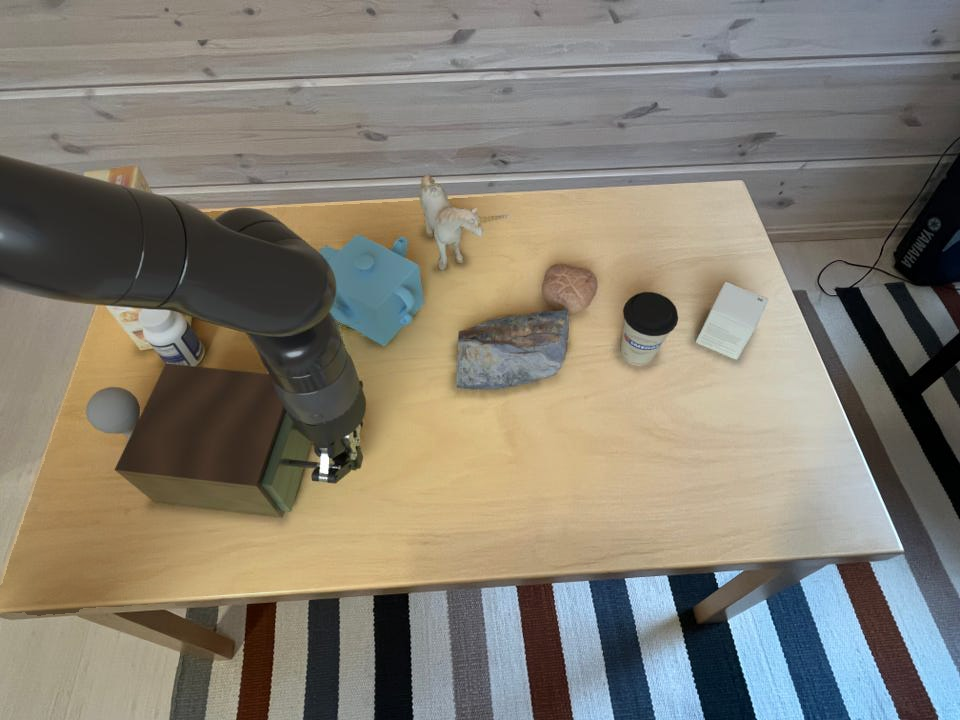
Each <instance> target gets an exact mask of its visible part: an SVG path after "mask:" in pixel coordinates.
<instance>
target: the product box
mask: <svg viewBox="0 0 960 720" xmlns="http://www.w3.org/2000/svg"><path fill="white" fill-rule="evenodd" d="M768 302H769V298H768V297H766V296H763V295H761V294H757V293H755V292H753V291H750V290H748V289H745V288H743V287H741V286H738V285H735V284H732V283H730V282H727V281H725V282H724V283H723V285H722V287H721V289H720V291H719V292H718V294H717V296H716V298H715V300H714V302H713V304H712V306H711V308H710V311H709V313H708V315H707V317H706V319H705V321H704V324H703V325H702V328H701V329H700V332H699V334H698V336H697V338H696V340H695V342H696V344H697V345H700V346H702V347H705V348H707V349H710V350H712V351H714V352H717V353H719V354H721V355H724V356H725V357H728V358H731V359H732V360H735V361H737V360H738V359H739V357H740V355H741V353H743V350H744V348H745V347H746V345H747V344H748V342H749V340H750V339H751V337H752V335H753V334H754V332H755V330H756V328H757V326H758V324H759V321H760V319H761V317H762V315H763V313H764V311H765V308H766V306H767V304H768Z"/></svg>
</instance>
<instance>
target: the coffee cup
mask: <svg viewBox="0 0 960 720" xmlns="http://www.w3.org/2000/svg"><path fill="white" fill-rule="evenodd" d="M622 314H623V322H622V331H621V332H622V333H621V342H620V355H621V357H622V359H624V361H626V363H628V364H630V365H633V366H637V367H638V366H639V367H642V366H646V365H649V364H650V363H651V362H652V360H653V359H654V357H655V356H656V354H657V353H658V351H659V350H660V348H661V347H662V346H663V344H664V342H665V341H666V339H667V337H668V336H669V334H670V333H671V332H672V331H674V330H675V328H676V327H677V326H678V323H679V322H678V321H679V315H678V309H677V308H676V305H675V304H674V302H673V301H671V300H670V299H669V298H668V297H667V296H665V295H662V294H661V293H657V292H653V291H643V292H639V293H636V294H634V295H633V296H631V297H630V298H629V299H627V301H626V302H625V303H624V306H623V309H622Z"/></svg>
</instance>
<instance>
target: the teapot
mask: <svg viewBox="0 0 960 720" xmlns="http://www.w3.org/2000/svg"><path fill="white" fill-rule="evenodd" d="M408 244H409V239H407V238H406V237H403V236H400V237H399V238H396V239H395V241H394V244H393V245H392V247H391V249H389V248H387V247H385V246H383V245H381V244H379V243H377V242H375V241H373V240H372V239H369V238H368V237H365V236H363V235H362V234H359V233H356V234H355V236H353V238H351V239H350V240H349V241H348V242H347V243H346V244H345V245H344V246H342V247H341V248H340V249H336V248H334V247H332V246H329V245H324V246H323V247H322V248H321V249H320V250H318V252H319V253H320V254H321V255H322V256H323V257H324V258H325V259H326V260H327V262H328V263H329V265H330V266H331V268H332V270H333V272H334V275H335V279H336V286H337V291H336V298H335V301H334V304H333V306H332V308H331V310H330V313H331V315H332V316H333V318H334V319H335V321H336V322H338V323H339V324H342V325H345V326H348V327H349V328H351V329H353V330H355V331H356V332H358V333H360V334H361V335H363V336H364V337H367V338H368V339H370V340H372V341H373V342H375V343H377V344H379V345H380V346H382V347H386V346H387V344H388V343H390V341H391V340H392V339H393V338H394V337H395V336H396V335H397V334H398V333H399V332H400V331H401V329H402V328H404V327H405V326H409V325H410V324H412V323H413V321H414V315H415V314H416V313H418V311H419V310H420V309H421V308H422V307H423V306H424V304H425V301H424V293H423V286H422V278H421V272H420V271H421V270H420V265H419V264H417V263H416V262H414V261H412V260H410V259H408V258H407V257H406V256H407V251H408Z"/></svg>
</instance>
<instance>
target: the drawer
mask: <svg viewBox="0 0 960 720" xmlns="http://www.w3.org/2000/svg"><path fill="white" fill-rule="evenodd" d="M312 443H313V442H311V441H310V440H309V439H307V438H306V437H304V436H303V435H302V434H301V433H300V432H299V431H298V430H297V428H296V427H295V425H294V423H293V422H292V420H291V418H290V416H289V415H288V413H287V411H286V410H285V413H284V416H283V419H282V422H281V425H280V428H279V431H278V434H277V437H276V442H275V445H274V448H273V451H272V454H271V457H270V460H269V463H268V466H267V468H266V469H265V472H264V475H263V478H262V481H261V482H262V483H261V485H262V486H263V487H264V489H265V490H266V491H267V492H268V494H269V495H270V496H271V498H272V499H273V500H274V501H275V503H276V504H277V505H278V507H279V508H280V509H281V510H282V511H284V512H292V510H293V506H294V503H295V499H296V496H297V493H298V491H299V490H298V489H299V486H300V483H301V480H302V476H303V473H304V469H305V468H306V469H313V470H314V469H315V468H317V464H318V463H320V461H319V462H318V461H308V457H309V453H310V450H311V447H312ZM332 459H334V458H332Z"/></svg>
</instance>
